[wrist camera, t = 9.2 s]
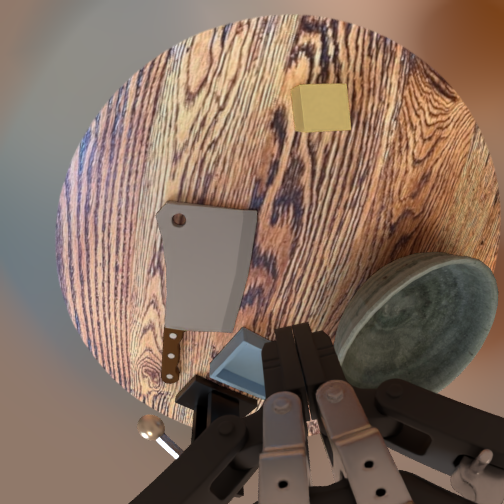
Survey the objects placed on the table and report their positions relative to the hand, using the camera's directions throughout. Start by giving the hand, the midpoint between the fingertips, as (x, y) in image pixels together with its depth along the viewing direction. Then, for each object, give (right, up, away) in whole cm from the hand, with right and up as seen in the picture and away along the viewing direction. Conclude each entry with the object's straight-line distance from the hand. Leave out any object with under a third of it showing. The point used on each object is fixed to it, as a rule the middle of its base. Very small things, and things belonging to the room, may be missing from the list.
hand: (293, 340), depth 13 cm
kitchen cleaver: (-8, -2, +20) cm, 22 cm away
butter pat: (+4, +17, +13) cm, 21 cm away
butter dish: (0, -10, +24) cm, 26 cm away
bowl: (+15, -2, +22) cm, 27 cm away
